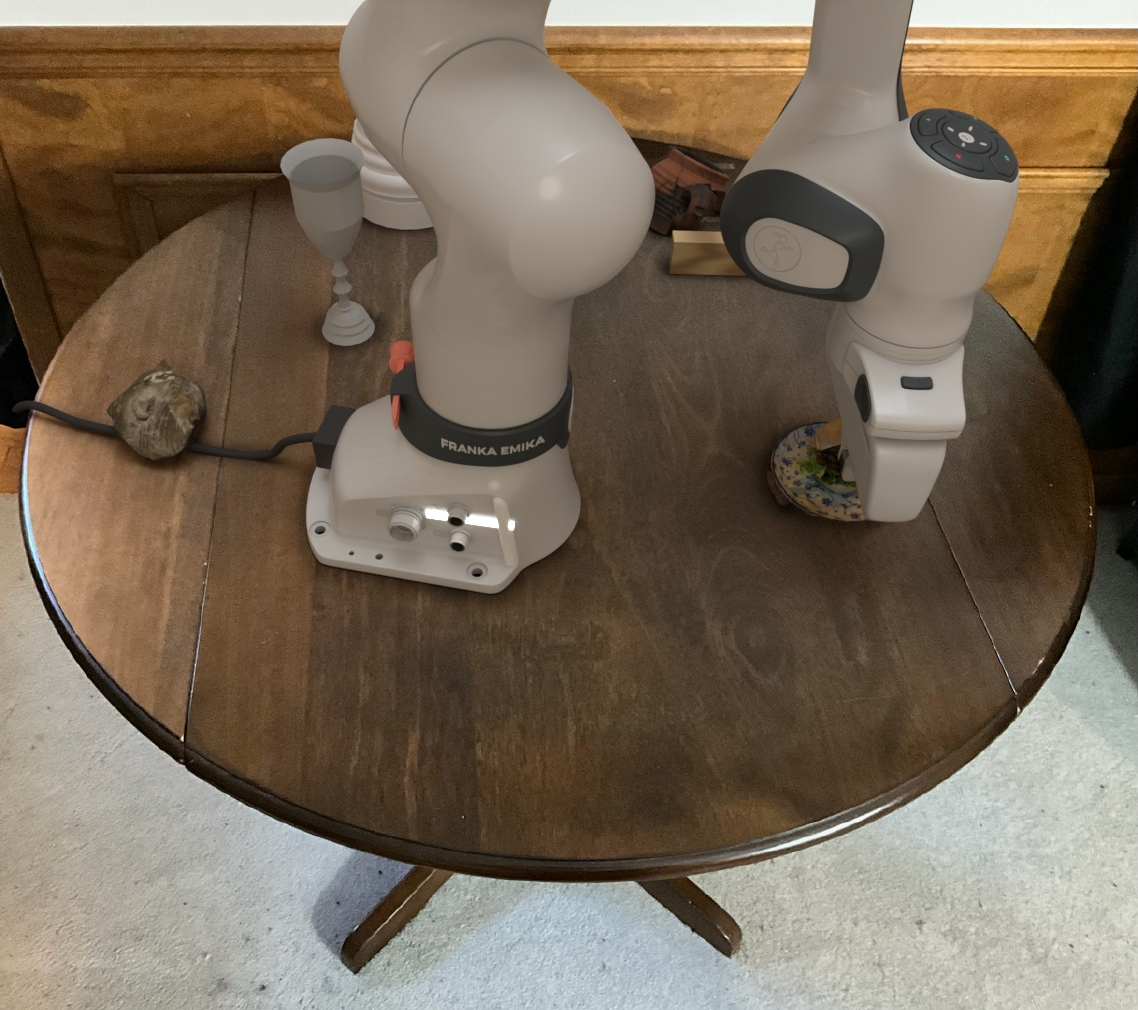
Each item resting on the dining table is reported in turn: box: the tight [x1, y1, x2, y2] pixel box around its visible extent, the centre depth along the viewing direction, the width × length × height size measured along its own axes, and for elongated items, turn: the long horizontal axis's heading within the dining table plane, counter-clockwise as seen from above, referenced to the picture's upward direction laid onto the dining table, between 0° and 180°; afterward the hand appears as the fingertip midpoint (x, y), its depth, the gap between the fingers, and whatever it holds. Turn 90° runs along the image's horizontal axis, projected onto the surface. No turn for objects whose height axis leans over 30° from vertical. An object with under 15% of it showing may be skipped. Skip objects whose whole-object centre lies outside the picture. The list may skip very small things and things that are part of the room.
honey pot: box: [351, 117, 434, 231], centre depth 109 cm, size 13×13×18 cm
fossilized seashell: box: [106, 358, 208, 462], centre depth 89 cm, size 8×7×10 cm
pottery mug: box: [649, 145, 730, 236], centre depth 113 cm, size 12×10×8 cm
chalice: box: [279, 137, 376, 347], centre depth 94 cm, size 7×7×18 cm
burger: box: [766, 417, 869, 523], centre depth 87 cm, size 12×12×8 cm
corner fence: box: [667, 230, 748, 277], centre depth 102 cm, size 21×21×4 cm
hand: (849, 470), depth 85 cm, fingers closed
